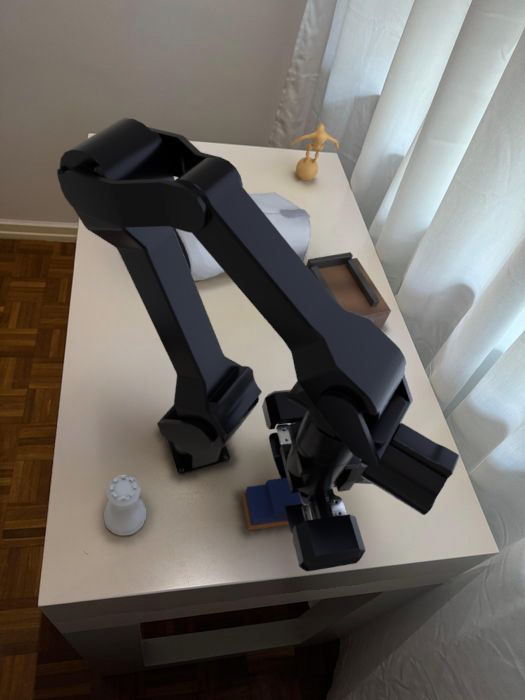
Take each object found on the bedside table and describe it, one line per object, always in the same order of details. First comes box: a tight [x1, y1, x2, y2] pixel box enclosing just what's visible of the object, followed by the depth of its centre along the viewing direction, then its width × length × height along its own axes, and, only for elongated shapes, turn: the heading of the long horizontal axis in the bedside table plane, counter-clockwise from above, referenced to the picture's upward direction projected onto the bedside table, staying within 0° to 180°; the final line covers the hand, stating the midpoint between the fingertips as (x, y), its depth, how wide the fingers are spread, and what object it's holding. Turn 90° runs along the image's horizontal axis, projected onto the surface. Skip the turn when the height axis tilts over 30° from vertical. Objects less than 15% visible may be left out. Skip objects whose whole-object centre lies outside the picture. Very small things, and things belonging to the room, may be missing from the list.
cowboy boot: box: [174, 191, 312, 282], centre depth 90 cm, size 10×28×25 cm
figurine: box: [290, 123, 340, 181], centre depth 99 cm, size 8×6×12 cm
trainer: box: [241, 477, 327, 531], centre depth 64 cm, size 9×4×4 cm, turn 102°
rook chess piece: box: [103, 474, 147, 536], centre depth 59 cm, size 4×4×8 cm
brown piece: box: [305, 251, 392, 330], centre depth 84 cm, size 11×11×6 cm
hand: (292, 503), depth 65 cm, fingers closed on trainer, 4 cm apart
